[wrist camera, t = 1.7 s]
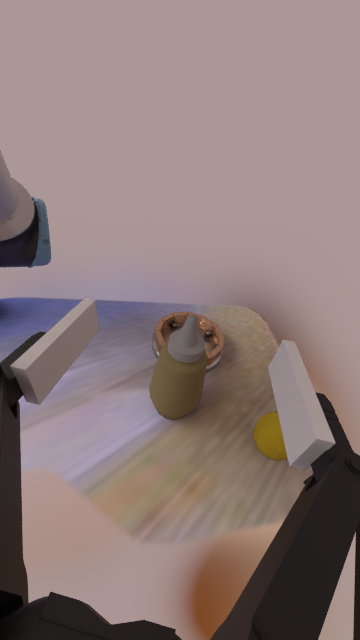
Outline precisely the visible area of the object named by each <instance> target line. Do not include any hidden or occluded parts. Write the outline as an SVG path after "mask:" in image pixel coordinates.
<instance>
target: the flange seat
mask: <svg viewBox="0 0 360 640" xmlns="http://www.w3.org/2000/svg"><path fill="white" fill-rule="evenodd" d="M189 315H195V316H197V318H198V333H199V334H200V335H201V336H202V337H203V339H204V341H205V349H204V350H205V352H206V354H207V356H208V360H207V367H206V372H207V371H209V370H211V369H213V368H214V367H215V366H216V365H217V364H218V363H219V361H220V358H221V356H222V352H223V346H224V335H223V333H222V332H221V330H220V329H219V327H218V326H217V324H216V323H214V322H212V321H211V320H209V319H208V318H206V317H204V316H202V315H198V314H194V313H190V312H177V313H171V314H169V315H167V316H165V317H163V318H161V319H160V320H159V322H158V324H157V327H156V329H155V332H154V335H153V340H152V348H153V351H154V354H155V355H156V357H157V358H158V356H159V353H160V350H161V347H162V346H163V345H164V344H165V343H166V342H167V341H169V338H170V335H171V334H172V333H173V332H174V331H177V330H179V329H182V327H183V325H184V323H185V322H186V320H187V318H188V316H189Z"/></svg>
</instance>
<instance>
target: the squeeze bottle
mask: <svg viewBox="0 0 360 640" xmlns="http://www.w3.org/2000/svg"><path fill="white" fill-rule="evenodd" d="M204 349H205V341H204V339H203V337H202V336H201V335H200V334H199V333H198V318H197V316H195V315H189V316H188V318H187V320H186V322H185V323H184V325H183V327H182V329H179V330H177V331H174V332H173V333H172V334H171V335H170V338H169V341H167V342H166V343H165V344H164V345H163V346H162V347H161V350H160V353H159V356H158V360H157V363H156V367H155V370H154V374H153V377H152V381H151V384H150V388H149V391H150V398H151V400H152V402H153V404H154V406H155V408H156V409H157V411H158V412H159V414H160V415H162V416H163V417H165V418H168V419H172V420H174V419H180V418H182V417H183V416H185V415H186V414H188V413H189V412H191V411H192V410H194V409H195V408H196V406H197V405H198V403H199V401H200V398H201V393H202V388H203V383H204V378H205V373H206V367H207V360H208V356H207V354H206V352H205V350H204Z"/></svg>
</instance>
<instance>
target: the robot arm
mask: <svg viewBox="0 0 360 640" xmlns="http://www.w3.org/2000/svg"><path fill="white" fill-rule="evenodd" d="M50 261H51V247H50V238H49V227H48V219H47V212H46V206H45V203H44V202H43V201H42V200H40V199H36V198H35V197H31V196H30V194H29V193H28V192H27V190H26V189H25V188H24V187H23V186H22V185H21V184H20V183H19V182H17V181H16V180H15V179H13V178H11V175H10V173H9V171H8V168H7V166H6V164H5V161H4V159H3V157H2V154H1V151H0V267H29V268H31V267H33V266H43V265H47V264H48V263H49V262H50ZM98 331H99V328H98V319H97V309H96V300H94V299H89V298H84V299H83V300H82V301H81V302H80V303H79V304H78V305H77V306H76V307H74V308H73V309H72V310H71V311H70V312H69V313H68V314H67V315H66V316H64V317H63V318H62V319H61V320H60V321H59V322H58V323H57V324H56V325H55V326H53V327H52V328H51V329H50V330H49V331H48V332H47V333H45V332H39V333H37V334H35V335H33V336H31V337H30V338H29V339H28V340H27V341H25V343H23V344H22V345H21V346H20V347H19V348H17V349H16V350H15V351H14V352H13V353H11V354H10V355H9V356H8V357H7V358H6V359H4V360H3V361H2V362H1V363H0V640H181V638H180V637H179V636H177V635H176V634H175V629H172V628H169V627H166V626H162V625H159V624H156V623H152V622H149V621H146V620H141V621H134V622H127V623H120V624H114V625H112V624H110V623H109V622H108V621H106V620H105V619H104V618H103V617H102V616H101V615H100V614H98V613H97V612H96V611H95V610H94V609H93V608H92V607H91V606H90V605H88V604H86V603H84V602H82V601H79V600H76V599H73V598H69V597H66V596H63V595H59V594H56V593H53V592H50V594H49V596H47V597H43V598H40V599H37V600H35V601H32V602H31V603H28V581H27V573H26V568H25V565H24V561H23V545H22V544H23V543H22V501H21V500H22V497H21V452H20V407H19V402H18V400H19V399H20V398H21V397H22V396H24V398H25V400H26V402H30V403H34V404H38V405H40V404H41V403H42V401H43V400H44V399H45V398H46V396H47V395H48V394H49V392H50V391H51V390H52V389H53V387H54V386H55V385H56V384H57V382H58V381H59V380H60V379H61V377H62V376H63V375H64V374H65V372H66V371H67V370H68V369H69V367H70V366H71V365H72V363H73V362H74V361H75V360H76V358H77V357H78V356H79V355H80V353H81V352H82V351H83V350H84V348H85V347H86V346H87V345H88V343H89V342H90V341H91V339H92V338H93V337H94V336H95V334H96V333H97V332H98ZM268 369H269V374H270V379H271V383H272V388H273V392H274V397H275V402H276V406H277V411H278V416H279V420H280V425H281V430H282V434H283V439H284V444H285V448H286V453H287V458H288V462H289V466H290V467H294V468H298V469H302V470H306V469H307V468H308V467H309V466H310V465H311V466H312V470H313V473H314V474H313V475H311V476H310V477H309V478H308V479H306V480H305V481H304V482H303V483H304V484H306V485H305V487H304V488H303V490H302V492H301V493H300V495H299V497H298V498H297V500H296V502H295V504H294V505H293V507H292V509H291V510H290V512H289V514H288V515H287V517H286V519H285V521H284V522H283V524H282V526H281V527H280V529H279V531H278V533H277V534H276V536H275V538H274V539H273V541H272V543H271V544H270V546H269V548H268V550H267V551H266V553H265V555H264V556H263V558H262V560H261V561H260V563H259V565H258V567H257V568H256V570H255V571H254V573H253V575H252V577H251V578H250V580H249V582H248V583H247V585H246V587H245V589H244V590H243V592H242V594H241V595H240V597H239V599H238V600H237V602H236V604H235V606H234V607H233V609H232V611H231V612H230V614H229V615H228V617H227V618H226V620H225V621H224V622H223V623H222V625H221V626H220V627H219V628H218V629H217V631H216V632H215V633H214V635H213V636H212V638H211V639H210V640H318V638H319V635H320V632H321V629H322V626H323V624H324V621H325V618H326V615H327V612H328V609H329V606H330V603H331V600H332V598H333V595H334V592H335V589H336V586H337V583H338V580H339V577H340V575H341V572H342V569H343V566H344V563H345V560H346V557H347V555H348V552H349V548H350V546H351V543H352V540H353V537H354V534H355V532H356V554H355V556H356V557H355V597H354V638H353V640H360V456H359V455H357V454H356V453H354V452H353V450H352V448H351V446H350V444H349V441H348V439H347V437H346V435H345V433H344V430H343V428H342V426H341V424H340V422H339V421H338V420H339V419H338V417H337V415H336V414H335V410H334V408H333V406H332V404H331V402H330V401H329V400H328V399H327V398H326V396H325V395H324V394H320V393H316V392H315V391H314V388H313V386H312V383H311V381H310V378H309V376H308V374H307V371H306V368H305V366H304V363H303V361H302V358H301V356H300V353H299V351H298V348H297V346H296V344H295V342H293V341H288V340H283V341H282V343H281V345H280V346H279V348H278V350H277V352H276V354H275V356H274V358H273V359H272V361H271V363H270V365H269V367H268Z"/></svg>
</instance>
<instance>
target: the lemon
mask: <svg viewBox="0 0 360 640" xmlns="http://www.w3.org/2000/svg"><path fill="white" fill-rule="evenodd" d="M254 441H255V444H256V446H257V448H258V449H259V451H260V452H261V453H262V454H263V455H265V456H266V457H268V458H270V459H273V460H283V459H286V458H287V453H286V448H285V444H284V439H283V434H282V430H281V425H280V420H279V416H278V412H270V413H267V414H265V415H264V416H262V417H261V418H260V419H259V420H258V422H257V423H256V426H255V428H254Z"/></svg>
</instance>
